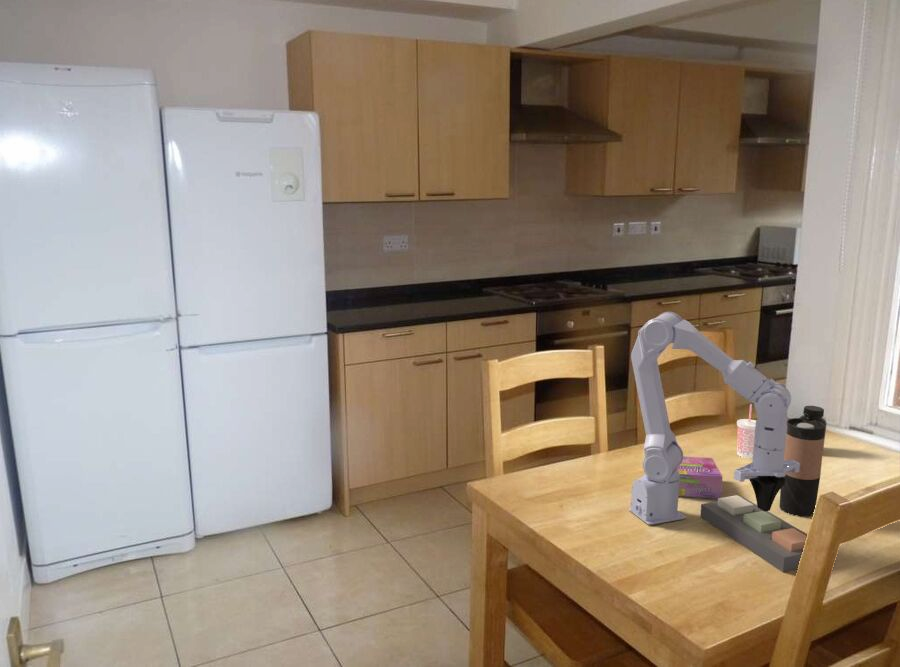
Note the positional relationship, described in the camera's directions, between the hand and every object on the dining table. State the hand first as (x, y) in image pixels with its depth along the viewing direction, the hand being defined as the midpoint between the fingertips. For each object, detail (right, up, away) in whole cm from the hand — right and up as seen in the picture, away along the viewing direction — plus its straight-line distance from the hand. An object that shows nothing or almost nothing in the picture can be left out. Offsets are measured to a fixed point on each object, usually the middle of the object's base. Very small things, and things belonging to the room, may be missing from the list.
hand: (763, 509), depth 148 cm
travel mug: (+13, -4, +14) cm, 20 cm away
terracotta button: (+3, -5, -7) cm, 9 cm away
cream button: (-3, -2, +8) cm, 9 cm away
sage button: (0, -4, +1) cm, 4 cm away
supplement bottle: (+33, +4, +49) cm, 59 cm away
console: (0, -6, +1) cm, 6 cm away
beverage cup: (+15, +3, +46) cm, 48 cm away
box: (-5, +3, +31) cm, 31 cm away
